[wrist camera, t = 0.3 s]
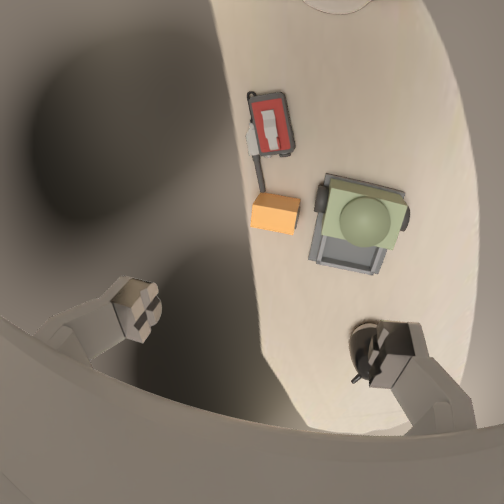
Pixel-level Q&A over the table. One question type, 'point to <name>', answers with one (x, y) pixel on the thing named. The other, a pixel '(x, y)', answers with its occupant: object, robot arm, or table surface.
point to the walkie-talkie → (268, 129)
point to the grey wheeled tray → (356, 224)
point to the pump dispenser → (361, 350)
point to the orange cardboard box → (275, 213)
